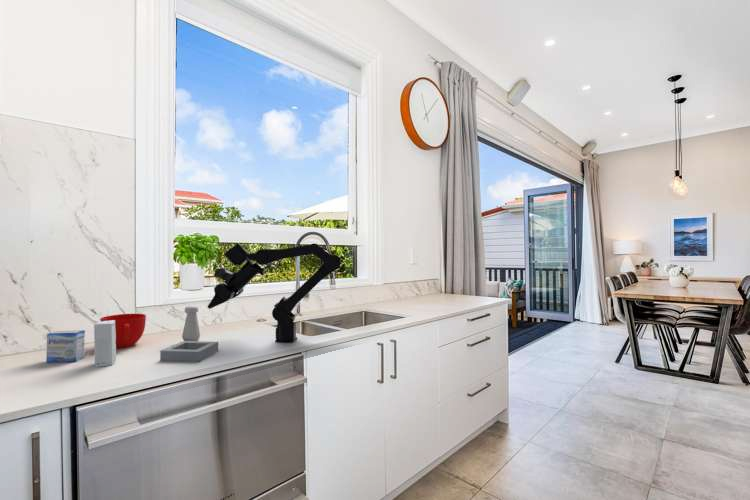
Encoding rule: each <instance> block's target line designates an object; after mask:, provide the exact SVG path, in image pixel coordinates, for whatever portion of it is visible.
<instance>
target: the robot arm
mask: <svg viewBox="0 0 750 500" xmlns="http://www.w3.org/2000/svg"><path fill="white" fill-rule="evenodd" d="M308 255H314V256H315V257H317V258H318V259H319V260H320V261H322V263H321V265H320V267H318V269H317V270H316V271H315V272H314V273H313V274H312V275H311V276H310V277H309V278H308V279H307V280H306V281H305V282H303V283H302V285H300V286H299V288H297V289H296V291H294V292H293V293H292V294H291V295H290V296H288V297H287V298H286V296H282V297H281V298H280V300H279V301H277V302H276V303H275V304H274V305H273V307H274V308H273V309H272V311H271V315H272V316H271V317H272V318H273V319H274V320H275V321H276V327H275V340H274V341H275V343H294V342H295V341H296V340H297V339H298V336H297V323H296V322H295V319H296V315H295V314H294V313H293V312H292V311H293V310H294V308H295V307H296V306H297V304H299V302H301V300H302V299H303V298H305V297H306V296H307V294H308V293H310V292H311V291H312V290H313V289H314V288H315V287H316V286H317V285H319V283H321V281H322V280H323V279H324V278H326V277H327V276H328V275H331V274H332V273H333V272H335V271H337V270H339V268H340V267H341V265H342V263H341V258H340V257H339V256H338V255H336V254H330V253H329V252H328V251H327V250H325V249H323V247H321V246H320V245H319V244H317V243H311V244H306V245H300V246H294V247H287V248H282V249H281V248H280V249H279V248H276V249H275V248H269V249H267V248H261V249H258V250H257V251H256V252H248V251H247V249H245V248H244V247H243V245H242V244H241V243H236V244H235V245H234V246H232V247H230V248H229V249H228V250H226V251H225V252H224V254H223V256H224V257H225V258H226V259H227V260H228V261H229V262H230V263H231V264H232V265H233V266H234V267H237V266H238V267H240V268H239V269H238V270H237V271H234V272H232V271H230V270H227V269H226V268H224V267H220V266H219V267H216V269H215V270H214V271H213V272H214V273H213V277H215V278H218V279H220V280H223V282H222V283H218V284H217V285H216V286H214V287H213V290H214V296H213V298H212V299H211V300H210V302H209V304H208V305H207V309H209V310H211V309H213V308H215V307H217V306H219V305H221V304H224V303H226V302H228V301H231V299H234V298H237V297H238V296H240V295H241V294H243V292H244V288H245V287H246V286H247V285H249V284H250V282H251V281H252V280H253V279H254V278H255V277H256V276H257V275H258V274H259V275H260V276H264V275H265V274H266V271H265V270H266V268H265V267H261V266H264V265H269V264H272V263H274V262H278V261H281V260H283V259H290V258H295V257H296V258H298V257H303V256H308ZM253 261H255V262H253ZM260 265H261V266H260Z"/></svg>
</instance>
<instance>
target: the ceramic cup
mask: <svg viewBox="0 0 750 500" xmlns="http://www.w3.org/2000/svg"><path fill="white" fill-rule="evenodd" d="M146 319H147V315H146V314H143V313H119V314H112V315H111V314H110V315H107V316H103V317H101V318H100V321H110V320H115V330H116V349H125V348H130V347H134V346H135V345H136V344H137V343H138V341H140V340H141V338H142V336H143V335H144V332H145V328H146Z"/></svg>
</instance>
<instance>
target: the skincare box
mask: <svg viewBox="0 0 750 500" xmlns="http://www.w3.org/2000/svg"><path fill="white" fill-rule="evenodd" d="M93 327H94V328H93V330H94V331H93V332H94V333H93V334H94V335H93V336H94V337H93V338H94V340H93V341H94V367H95V368H99V367H108V366H109V367H111V366H112V365H114V364H115V362H116V361H117V348H116V330H115V320H110V321H101V320H99V321H98V322H96V323H95V324H94V325H93Z"/></svg>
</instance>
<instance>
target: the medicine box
mask: <svg viewBox="0 0 750 500" xmlns="http://www.w3.org/2000/svg"><path fill="white" fill-rule="evenodd" d="M85 337H86V330H84V329H83V330H82V329H80V330H77V329H76V330H56V331H51V332H48V333H47V334H46V352H45V353H46V357H45V358H46V363H47V364H53V363H55V364H57V363H73V362H75V363H76V362H78V361H81V360H83V359H84V358H85V345H86V344H85V343H86V342H85V341H86V339H85Z"/></svg>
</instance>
